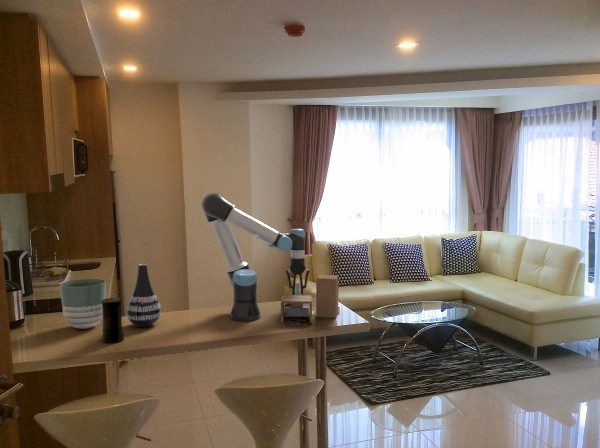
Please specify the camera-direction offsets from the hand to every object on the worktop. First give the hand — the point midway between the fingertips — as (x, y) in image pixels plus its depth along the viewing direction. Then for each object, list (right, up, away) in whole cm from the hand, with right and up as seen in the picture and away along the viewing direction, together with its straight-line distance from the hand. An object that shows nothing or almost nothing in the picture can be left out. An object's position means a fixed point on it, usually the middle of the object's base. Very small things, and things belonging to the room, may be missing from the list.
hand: (297, 300), depth 280 cm
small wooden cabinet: (0, -4, -9) cm, 10 cm away
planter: (-101, -8, -35) cm, 107 cm away
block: (0, -5, -14) cm, 15 cm away
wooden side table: (0, -6, -22) cm, 23 cm away
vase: (-73, -7, -33) cm, 81 cm away
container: (-80, -9, -56) cm, 98 cm away
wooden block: (+15, -5, -16) cm, 22 cm away
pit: (-1, -7, -33) cm, 34 cm away
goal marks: (0, -5, -10) cm, 12 cm away
